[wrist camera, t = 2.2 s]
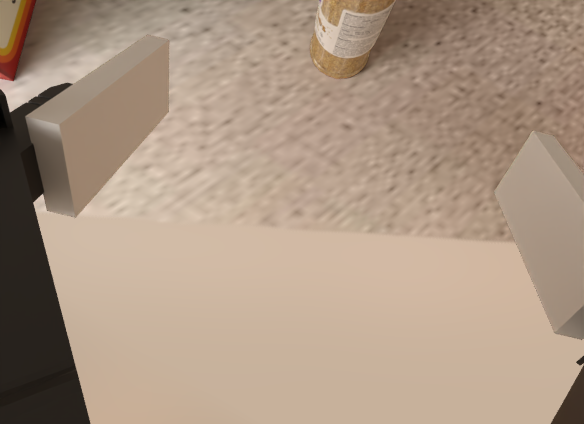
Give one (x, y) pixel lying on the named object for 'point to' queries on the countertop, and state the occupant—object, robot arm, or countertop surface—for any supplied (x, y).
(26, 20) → the baking soda box
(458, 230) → the countertop surface
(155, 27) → the countertop surface
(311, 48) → the sprinkles bottle
